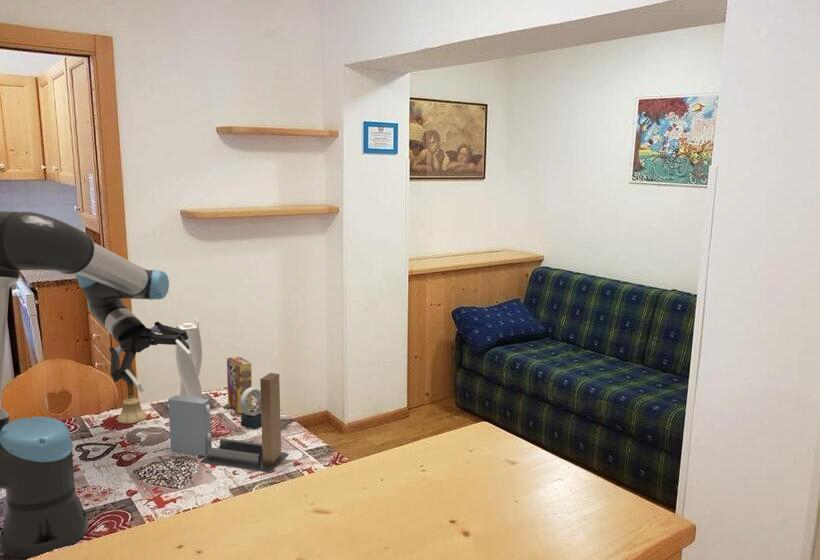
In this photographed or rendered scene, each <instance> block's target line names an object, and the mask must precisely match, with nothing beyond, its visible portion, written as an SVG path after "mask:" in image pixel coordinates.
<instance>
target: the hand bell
mask: <svg viewBox="0 0 820 560" xmlns="http://www.w3.org/2000/svg"><path fill="white" fill-rule="evenodd" d="M129 371H130V372H131V373H132V375H133V376H134V377H135V378H136V374H135V373H136V372H135V369H134V368H133V365H132V364H131V367H130V370H129ZM126 386H127V398H126V399H124V400H123V402H122V408H121V412H120V414H119V415H118V416H117V417H116V422H117V421H118V422H117V423H119V424H134V423H135V424H136V423H140V422H143V421H145V420H146V419H147V418H148V414H147V413H146V412H145V411H144V410H143V409H142V405H141V402H140V399H139V398H136V397H135V392H134V391H135V390H134V386H135V385H134V384H131V385H128V384H127V383H126Z"/></svg>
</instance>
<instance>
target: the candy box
mask: <svg viewBox="0 0 820 560" xmlns="http://www.w3.org/2000/svg"><path fill="white" fill-rule="evenodd" d="M226 368H227V369H226V373H227V376H226V377H227V379H226V380H227V405H228V407H229V408H230V409H233V410H234V411H235V412H237V413H238V414H240V415H241V414H244V412H243V411H242V409H241V407H240V398H241V395H242V393H243V392H244V391H245V390H246V389H247V388H250V387H253V386H252V384H253V383H252V381H253V379H252V378H253V377H252V362H250V361H249V360H247V359H245V358H243V357H241V356H231V357H227V358H226ZM246 405H247V408H248V410H249V411H252V410H253V394H252V392H251V393H250V394H249V395H248V396H247V398H246Z"/></svg>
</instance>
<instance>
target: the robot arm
mask: <svg viewBox="0 0 820 560" xmlns="http://www.w3.org/2000/svg"><path fill="white" fill-rule="evenodd" d="M20 271H52V272H53V271H56V272H59V273H62V274H66V275H75V277H76V279H77V282H78V285H79V288H80V289H81V291H82V293H83V294H84V296H85V298H86V300H87V302H88V304H87V307H88V310H89V311H90V312H91V315H93V317H94V318H95V319H96V320H98V322H100V324H101V325H102V326H103V327H104V328H105V329H106V330H107V332H108V333H109V334H110V335H111V336H112V338H114V340H115V341H116V342H117V343H118V345H119V346H117V347H113V346H111V347H109V348H108V350H109V353H110V357H111V358H110V376H111V377H112V380H113V381H114V383H116V382H118V381H120V380H121V379H122V380H123V382H125V383H126V385H127V384H128V385H131V384H134V386H135V387H136V389H137V390H138V391H139V392H140V393H142V392H144V388H143V386H142V384H141V382H140V381H139V380H138V379H137V378H136V376H135V377H134V376H133V375H132V373H131V372H130V371H129V370H130V367H131V365H132V364H133V361H134V359H135V358H136V354H137V353H141V352H142V351H144V350H145V349H147V348H150V346H157V345H172V346H176V345H177V346H178V348H179V349H180V350H181V351H182V352H183V353H184V354H185V355H186V356H187V357H188V358H189V359H190V361H192V360H194V359H193V356H192V354H191V352H190V351H189V349H190V348H189V345H188V343H187V342H186V341H185V340H187V339H188V335H187V333H186V331H185V330H181V329H177V328H176V327H172V326H169V325H165V324H162V323H160V321H155V322H154V323H153V324H154V326H152V327H151V328H148V327H147V326H146V325H145V324H144V323H143V322H142V321H141V320H140V319H139V318H138V317H137V316H136V315H135V314H134V313H133V312H132V311H131V310H130V309H129V308H128V306H126V304H125V303H124V302H123V300H124V299H125V300H126V299H128V300H129V299H131V300H150V301H152V300H162V299H165V298H166V296H167V295H168V293H169V287H170V280H169V277H168V274H167V273H166V272H165V271H163V270H156V269H146V268H144V267H142V266H141V265H139V264H137V263H135V262H132V261H131V260H129V259H126V258H124V257H122V256H121V255H119V254H117V253H114V252H112V251H111V250H110V249H107V248H105V247H103V246H101V245H100V244H97V243H96V242H94V240H93V238H92V237H91V236H90V234H88V233H87V232H84V231H83V230H81V229H79V228H77V227H75V226H74V225H70V224H69V223H67V222H64V221H62V220H59V219H57V218H55V217H51V216H49V215H46V214H42V213H39V212H33V211H7V210H6V211H5V210H0V489H2V490H3V489H4V490H5V494H6V504H7V505H6V506H7V509H6V513H5V517H4V521H3V527H2V529H1V531H0V549H1V551H2V553H4V554H5V555H6V556H9V557H11V558H17V559H31V558H30V557H33V556H38V555H40V554H43V553H46V552H49V551H52V550H54V549H58V548H62V547H65V546H69V545H71V546H72V544H73V545H74V544H76V543H77V542H78V541H80V540H81V539H82V538H83V537H84V536H86V533H87V532H88V529H89V520H88V515H87V512H86V511H85V509H84V508H83V507H84V506H83V505H82V503H81V500H80V499H79V497H78V495H77V493H76V484H75V471H74V457H73V449H74V447H73V446H74V445H73V442H72V439H71V438H72V437H71V432H70V429H69V428H68V426H67V424H66V423H64V422H63V421H61V420H60V419H57V418H53V417H48V416H32V417H31V418H30V417H21V418H18V419H15V420H11V421H10V414H9V412H7V411H6V410H5V409H4V408H3V407H2V399H3V398H2V396H3V395H2V394H3V384H4V382H3V381H4V367H5V355H6V354H5V353H6V342H7V341H6V339H7V325H8V324H7V323H8V309H9V295H10V288H11V287H12V286H13V285H15V283H17V282H18V281H19V280H20V278H19V277H20ZM122 299H123V300H122ZM121 352H124V356H123V359H122V360H121V359H120V357H121V354H122V353H121ZM120 360H121V361H122V362H120ZM120 363H121V365H120ZM69 547H70V546H69ZM33 558H34V557H33Z"/></svg>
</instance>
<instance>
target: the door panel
mask: <svg viewBox="0 0 820 560" xmlns="http://www.w3.org/2000/svg"><path fill="white" fill-rule="evenodd" d="M167 402H168V419H169V436H170V437H169V439H170V451H171V452H176V453H182V454H189V455H197V456H203V457H206V456H208V448H210V447H211V448H213V447H212V428H211V427H212V426H211V405H210V404H211V403H210V399H209V398H207V399H206V398H203V399H200V398H192V397H183V396H180V395H174V396H172V397H171V398H168V400H167Z"/></svg>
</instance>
